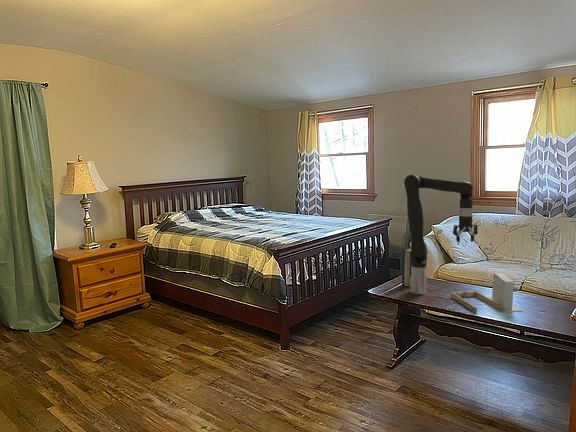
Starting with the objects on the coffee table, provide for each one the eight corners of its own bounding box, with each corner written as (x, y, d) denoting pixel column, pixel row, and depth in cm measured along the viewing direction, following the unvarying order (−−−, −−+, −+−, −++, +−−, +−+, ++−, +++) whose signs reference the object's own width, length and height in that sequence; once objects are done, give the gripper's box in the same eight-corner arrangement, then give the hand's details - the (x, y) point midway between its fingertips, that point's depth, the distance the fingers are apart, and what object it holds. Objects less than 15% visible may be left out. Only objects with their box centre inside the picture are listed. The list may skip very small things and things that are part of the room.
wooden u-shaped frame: (474, 313, 239) (475, 307, 239) (451, 297, 268) (451, 292, 267) (502, 311, 240) (503, 306, 240) (476, 295, 269) (476, 291, 268)
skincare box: (513, 310, 241) (514, 281, 239) (502, 309, 242) (503, 281, 240) (501, 298, 261) (502, 272, 259) (491, 297, 262) (492, 272, 260)
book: (417, 279, 309) (418, 244, 306) (427, 281, 303) (427, 245, 300) (401, 286, 294) (401, 249, 290) (411, 288, 288) (411, 250, 285)
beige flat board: (505, 312, 239) (505, 311, 239) (482, 298, 263) (482, 297, 263) (523, 311, 240) (523, 310, 240) (498, 297, 264) (498, 297, 264)
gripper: (474, 214, 266) (473, 240, 268) (451, 214, 265) (450, 241, 267) (480, 215, 259) (479, 242, 261) (457, 216, 258) (456, 243, 260)
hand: (465, 241), depth 264 cm, fingers open, 8 cm apart
